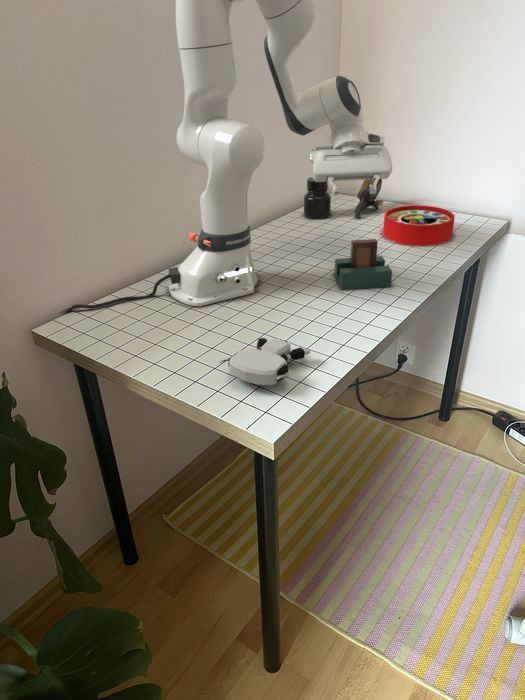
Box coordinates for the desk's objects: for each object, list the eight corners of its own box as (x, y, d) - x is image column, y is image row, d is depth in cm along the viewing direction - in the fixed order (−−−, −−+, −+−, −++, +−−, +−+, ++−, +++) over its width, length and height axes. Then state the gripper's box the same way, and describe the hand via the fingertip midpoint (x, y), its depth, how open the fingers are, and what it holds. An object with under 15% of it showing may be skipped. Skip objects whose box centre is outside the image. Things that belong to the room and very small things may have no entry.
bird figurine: (371, 219, 176) (386, 157, 176) (343, 216, 181) (357, 155, 180) (383, 229, 188) (397, 172, 187) (356, 226, 193) (369, 170, 192)
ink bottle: (333, 212, 188) (334, 176, 182) (329, 219, 180) (330, 182, 174) (305, 211, 190) (305, 175, 184) (300, 219, 182) (300, 182, 176)
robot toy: (259, 349, 112) (217, 381, 101) (259, 329, 110) (216, 359, 99) (314, 363, 107) (275, 399, 95) (314, 342, 105) (276, 376, 93)
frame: (349, 274, 138) (351, 240, 133) (373, 273, 138) (375, 238, 134) (351, 278, 136) (352, 243, 132) (375, 276, 136) (377, 241, 132)
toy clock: (379, 206, 171) (444, 204, 170) (378, 224, 174) (442, 222, 173) (391, 226, 154) (463, 224, 153) (389, 246, 157) (460, 244, 156)
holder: (334, 274, 142) (335, 258, 140) (380, 271, 142) (381, 255, 140) (341, 289, 133) (342, 273, 131) (390, 286, 134) (392, 270, 132)
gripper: (310, 140, 140) (315, 188, 136) (390, 136, 140) (397, 184, 137) (308, 155, 146) (312, 201, 142) (384, 151, 147) (390, 197, 143)
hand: (354, 193), depth 140 cm, fingers open, 8 cm apart
